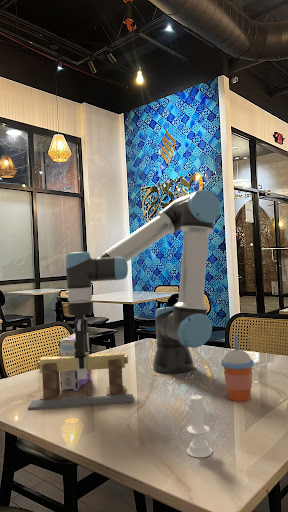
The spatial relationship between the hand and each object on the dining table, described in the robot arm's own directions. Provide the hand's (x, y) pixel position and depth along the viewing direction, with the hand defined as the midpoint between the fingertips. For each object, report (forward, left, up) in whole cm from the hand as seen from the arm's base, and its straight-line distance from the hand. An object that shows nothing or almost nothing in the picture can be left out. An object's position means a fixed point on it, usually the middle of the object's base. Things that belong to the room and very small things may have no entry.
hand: (83, 375), depth 129 cm
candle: (-28, +44, -6) cm, 53 cm away
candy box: (+4, -12, -6) cm, 14 cm away
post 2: (-10, 0, -6) cm, 12 cm away
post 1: (+10, 0, -6) cm, 12 cm away
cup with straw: (-45, +13, -6) cm, 47 cm away
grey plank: (0, +7, -6) cm, 9 cm away
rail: (0, 0, +2) cm, 2 cm away
